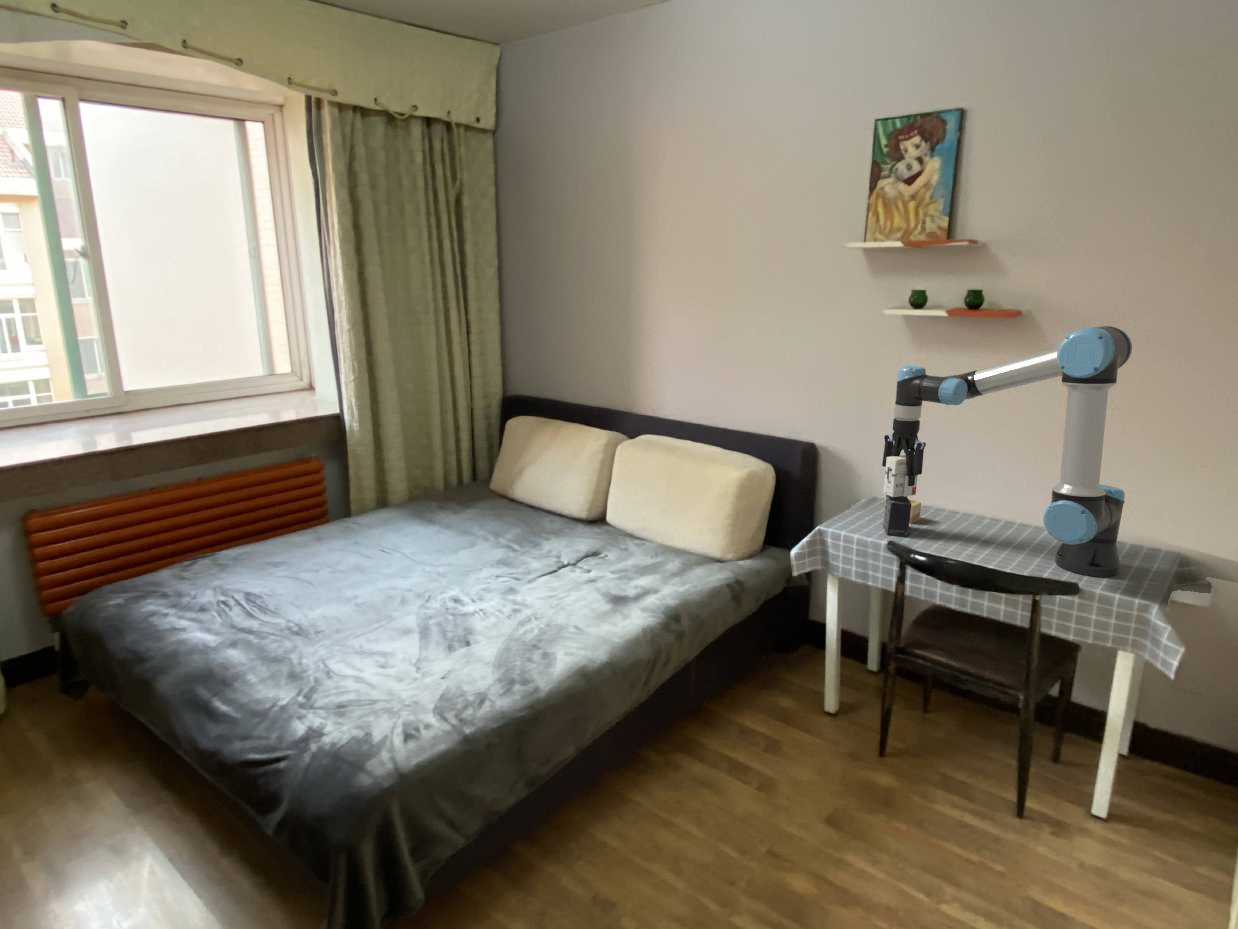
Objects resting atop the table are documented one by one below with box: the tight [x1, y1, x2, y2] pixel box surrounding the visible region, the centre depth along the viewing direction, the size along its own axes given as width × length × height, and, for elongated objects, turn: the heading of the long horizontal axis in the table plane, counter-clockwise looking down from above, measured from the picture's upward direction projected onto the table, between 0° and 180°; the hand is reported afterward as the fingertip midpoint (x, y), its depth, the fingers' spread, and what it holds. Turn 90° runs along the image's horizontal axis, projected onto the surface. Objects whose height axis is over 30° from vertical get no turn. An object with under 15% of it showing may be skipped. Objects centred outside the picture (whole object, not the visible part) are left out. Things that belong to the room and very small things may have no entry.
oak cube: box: [909, 499, 922, 525], centre depth 246 cm, size 6×6×6 cm
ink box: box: [882, 454, 919, 497], centre depth 232 cm, size 9×5×12 cm, turn 109°
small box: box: [882, 494, 912, 537], centre depth 235 cm, size 11×6×10 cm, turn 168°
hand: (899, 493), depth 233 cm, fingers closed on ink box, 5 cm apart
